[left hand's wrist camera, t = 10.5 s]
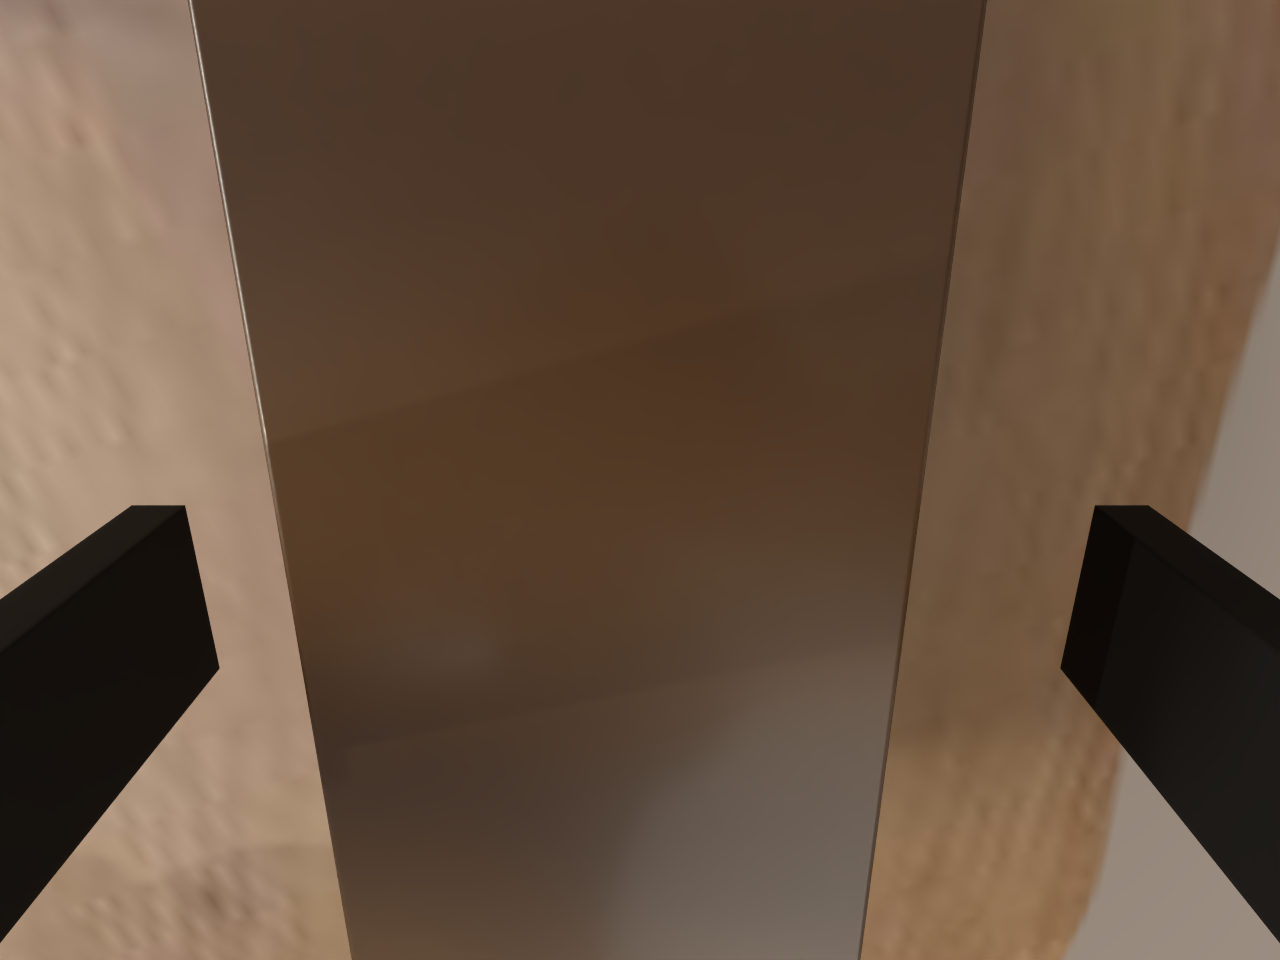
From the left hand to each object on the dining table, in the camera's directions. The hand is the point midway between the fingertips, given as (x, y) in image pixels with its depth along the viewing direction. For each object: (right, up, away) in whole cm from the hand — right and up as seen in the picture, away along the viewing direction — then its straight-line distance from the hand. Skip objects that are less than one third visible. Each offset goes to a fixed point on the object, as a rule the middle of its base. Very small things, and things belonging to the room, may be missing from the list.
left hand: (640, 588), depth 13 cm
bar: (0, +20, -4) cm, 20 cm away
